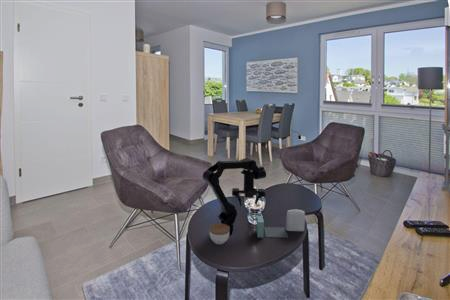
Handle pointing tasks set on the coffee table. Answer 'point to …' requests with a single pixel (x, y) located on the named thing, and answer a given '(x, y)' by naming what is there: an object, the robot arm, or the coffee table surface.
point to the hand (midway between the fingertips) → (247, 206)
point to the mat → (275, 232)
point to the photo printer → (295, 220)
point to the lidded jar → (219, 233)
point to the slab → (260, 226)
